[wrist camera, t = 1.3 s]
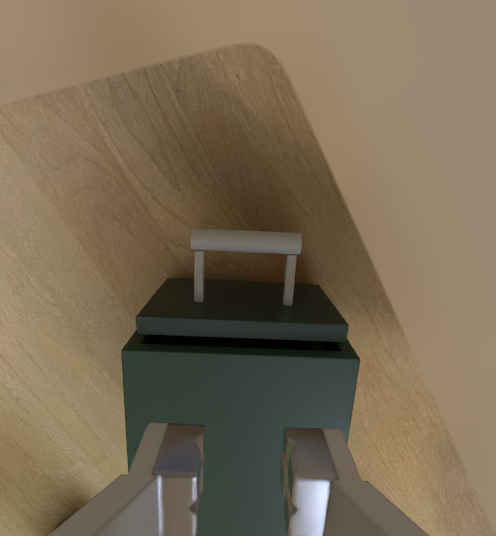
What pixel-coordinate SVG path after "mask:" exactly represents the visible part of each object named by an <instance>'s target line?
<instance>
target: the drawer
mask: <svg viewBox="0 0 496 536" xmlns="http://www.w3.org/2000/svg"><path fill="white" fill-rule="evenodd" d="M190 245H191V249H192V250H195V251H194V279H174V278H167V279H166V281H165V282H164V283H163V284H162V285H161V287H160V288H159V289H158V290H157V292H156V293H155V294H154V295H153V296H152V298H151V299H150V300H149V301H148V303H147V304H146V305H145V306H144V308H143V309H142V310H141V311H140V312H139V314H138V315H137V316H136V325H137V334H140V335H162V337H161V339H160V341H159V343H158V344H161V345H187V346H214V347H240V348H266V349H293V350H319V351H324V349H323V347H322V345H321V343H320V341H322V342H346V340H347V332H348V324H347V322H346V321H345V320H344V318H343V317H342V315H341V314H340V313H339V311H338V310H337V309H336V307H335V306H334V305H333V303H332V302H331V301H330V299H329V298H328V297H327V295H326V294H325V293H324V291H323V290H322V288H321V287H320V286H319V285H315V284H294V280H295V268H296V257H297V256H296V255H299V254H300V252H301V248H302V236H301V233H289V232H268V231H246V230H225V229H203V228H192V230H191V236H190ZM205 250H207V251H229V252H251V253H274V254H286V266H285V278H284V283H268V282H245V281H221V280H204V259H205Z"/></svg>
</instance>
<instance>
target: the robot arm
mask: <svg viewBox="0 0 496 536" xmlns="http://www.w3.org/2000/svg"><path fill="white" fill-rule="evenodd" d="M205 441H206V425H198V424H180V423H156V422H150V423H149V424H148V426H147V427H146V430H145V432H144V435H143V437H142V440H141V442H140V445H139V447H138V450H137V452H136V455H135V457H134V460H133V462H132V465H131V467H130V470H129V472H128V475H120V476H119V477H118V478H117V479H115V480H114V481H113V482H112V483H111V484H109V485H108V486H107V487H106V488H104V489H103V490H102V491H101V492H100V493H98V494H97V495H96V496H95V497H94V498H92V499H91V500H90V501H89V502H88V503H86V504H85V505H84V506H83V507H82V508H80V509H79V510H78V511H77V512H76V513H74V514H73V515H72V516H71V517H69V518H68V519H67V520H66V521H65V522H63V523H62V524H61V525H60V526H59V527H57V528H56V529H55V530H54V531H53V532H51V533H50V534H49V535H48V536H196V535H197V528H198V521H199V514H200V494H201V493H202V492H203V483H204V474H205V459H206V451H205V450H204V448H205ZM282 441H283V448H284V451H283V452H282V453H281V461H280V479H281V490H282V495H283V496H284V497H285V507H284V514H285V522H286V530H287V536H429V535H428V534H427V533H426V532H425V531H423V530H422V529H421V528H420V527H419V526H418V525H417V524H416V523H414V522H413V521H412V520H411V519H410V518H409V517H408V516H407V515H405V514H404V513H403V512H402V511H401V510H400V509H399V508H397V507H396V506H395V505H394V504H393V503H392V502H391V501H390V500H388V499H387V498H386V497H385V496H384V495H383V494H382V493H381V492H379V491H378V490H377V489H376V488H375V487H374V486H373V485H371V484H370V483H369V482H368V481H362V480H361V478H360V475H359V473H358V470H357V468H356V465H355V463H354V460H353V458H352V455H351V453H350V450H349V448H348V445H347V443H346V441H345V438H344V436H343V433H342V431H341V430H340V429H339V428H288V427H284V430H283V437H282Z"/></svg>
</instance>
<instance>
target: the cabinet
mask: <svg viewBox="0 0 496 536" xmlns="http://www.w3.org/2000/svg"><path fill="white" fill-rule="evenodd" d="M161 337H162V335H140V334H137V330H136V331H135V333H134V334H133V335H132V337H131V338H130V339H129V341H128V342H127V344H126V345H125V346H124V347H123V349H122V350H121V353H122V371H123V388H124V405H125V422H126V440H127V457H128V472H129V470H130V467H131V465H132V462H133V460H134V457H135V455H136V452H137V450H138V447H139V445H140V442H141V440H142V437H143V435H144V432H145V430H146V427H147V426H148V424H149V423H150V422H156V423H180V424H198V425H206V441H205V448H204V450H205V451H206V459H205V474H204V483H203V492H202V493H201V494H200V514H199V521H198V528H197V535H196V536H287V530H286V522H285V514H284V507H285V497H284V496H283V495H282V490H281V479H280V461H281V453H282V452H283V451H284V448H283V441H282V437H283V430H284V427H288V428H339V429H340V430H341V431H342V433H343V436H344V438H345V441H346V443H347V442H348V436H349V429H350V422H351V416H352V409H353V403H354V396H355V390H356V383H357V377H358V370H359V364H360V358H359V357H358V355H357V354H356V352H355V351H354V349H353V348H352V346H351V345H350V343H349V342H348V340H346V342H322V341H320V343H321V345H322V347H323V349H324V351H319V350H293V349H266V348H240V347H214V346H187V345H161V344H158V343H159V341H160V339H161Z"/></svg>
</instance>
